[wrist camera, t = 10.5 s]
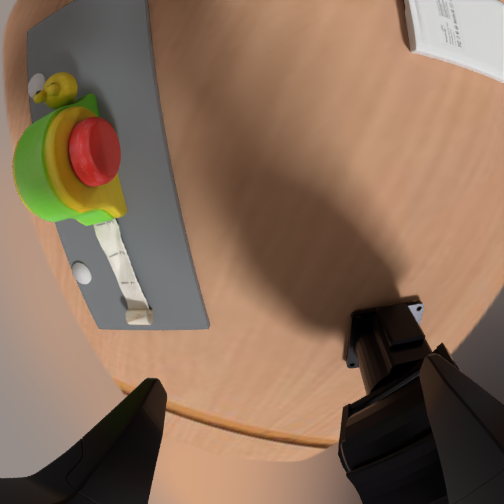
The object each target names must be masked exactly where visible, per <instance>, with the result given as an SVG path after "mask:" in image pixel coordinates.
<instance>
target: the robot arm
mask: <svg viewBox="0 0 504 504" xmlns="http://www.w3.org/2000/svg"><path fill="white" fill-rule="evenodd" d="M417 307H418V308H417ZM423 310H424V305H423V303H422V302H421V301H416V302H410V303H404V304H398V305H392V306H385V307H379V308H372V309H365V310H357V311H354V312H353V313H352V314H351V319H350V331H349V342H348V352H347V361H346V364H347V367H348V368H357V367H359V368H360V371H361V375H362V379H363V382H364V386H365V390H366V394H367V395H366V396H365V397H363V398H361V399H359V400H357V401H356V402H354V403H352V404H348V405H346V406H344V407H343V412H342V422H341V430H340V438H339V451H338V455H339V458H340V460H341V463H342V466H343V468H344V469H345V471H346V472H347V473H346V476H347V478H348V479H349V480H350V481H351V482H352V484H353V485H354V486H355V488H356V490H357V492H358V493H359V495H360V498H361V500H362V503H363V504H504V405H503V404H502V403H501V402H499V401H498V400H497V399H496V398H494V397H493V396H492V395H491V394H490V393H488V392H487V391H486V390H484V389H483V388H482V387H480V386H479V385H478V384H477V383H475V382H474V381H473V380H472V379H470V378H469V377H468V376H466V375H465V374H464V373H462V372H461V371H460V369H459V367H458V365H457V364H456V363H455V361H454V359H453V358H452V356H451V354H450V353H449V351H448V350H447V348H446V347H445V345H444V344H443V343H441V344H440V345H439V346H437V349H435V350H434V351H433V352H432V350H431V348H430V346H429V345H428V343H427V341H426V339H425V335H424V333H423V331H422V329H421V327H420V322H421V318H422V314H423ZM357 316H359V317H358V318H355V317H357ZM166 403H167V393H166V391H165V389H164V387H163V386H162V384H161V382H160V380H159V379H157V378H146V379H145V380H144V381H143V382H142V383H141V384H140V385H139V386H138V387H137V388H135V389H134V390H133V391H132V392H131V393H130V394H129V395H128V396H127V397H126V398H125V399H124V400H123V401H122V402H120V403H119V404H118V405H117V406H116V407H115V408H114V409H113V410H112V411H111V412H110V413H109V414H108V415H106V416H105V417H104V418H103V419H102V420H101V421H100V422H99V423H98V424H97V425H96V426H94V427H93V428H92V429H91V430H90V431H89V432H88V433H87V434H86V435H85V436H84V437H83V438H82V439H80V440H79V441H78V442H77V443H76V444H75V445H73V446H72V447H71V448H70V449H69V450H68V451H66V452H65V453H64V454H62V455H61V456H60V457H58V458H57V459H56V460H54V461H53V462H52V463H50V464H49V465H47V466H46V467H44V468H43V469H42V470H40V471H39V472H37V473H35V474H33V475H31V476H28V477H22V478H0V504H148V499H149V495H150V489H151V485H152V480H153V476H154V470H155V466H156V462H157V457H158V453H159V449H160V444H161V440H162V435H163V428H164V419H165V411H166Z"/></svg>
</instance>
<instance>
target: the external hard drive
mask: <svg viewBox="0 0 504 504" xmlns="http://www.w3.org/2000/svg"><path fill="white" fill-rule="evenodd" d="M404 2H405V7H406V9H405V18H406V24H407V30H408V37H409V45H410V52H411V53H415V54H419V55H424V56H427V57H431V58H435V59H438V60H442V61H445V62H448V63H452V64H455V65H458V66H461V67H464V68H467V69H469V70H472V71H475V72H478V73H480V74H483V75H485V76H488V77H490V78H493V79H495V80H497V81H500V82H502V83H504V4H503V3H502V2H500V1H498V0H404Z"/></svg>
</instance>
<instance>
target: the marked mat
mask: <svg viewBox="0 0 504 504" xmlns="http://www.w3.org/2000/svg"><path fill="white" fill-rule="evenodd" d="M27 72H28V94H29V100H30V110H31V118H32V124H33V123H34V122H36V121H37V120H39V119H41V118H42V117H44V116H46V115H48V114H50V113H51V112H53V111H55V110H56V109H51V108H49V107H48V106H47V105H46V104H45V103H44V101H43V102H42V103H39V104H38V103H35V102H34V100H33V96H34V94H35V93H36V92H37V91H39V90H43V87H44V84H45V82H46V81H47V80H48V79H49V78H50V77H51V76H52V75H54V74H56V73H59V72H67V73H69V74H71V75H73V76H74V78H75V79H76V81H77V85H78V90H77V95H76V97H75V100H77V99H79V98H81V97H83V96H85V95H88V94H90V93H92V94H94V95H95V96H96V99H97V106H98V112H99V117H100V118H103V119H105V120H107V121H108V122H109V123H110V124H111V125H112V127H113V128H114V130H115V132H116V134H117V136H118V139H119V143H120V149H121V161H120V166H119V170H118V175H119V180H120V184H121V188H122V192H123V195H124V199H125V203H126V207H127V213H126V214H125V215H124V216H123V217H120V218H116V221H117V223H118V224H119V228H120V233H121V238H122V241H123V243H124V245H125V249H126V250H127V254H128V256H129V259H130V262H131V265H132V268H133V270H134V273H135V276H136V278H137V281H138V282H139V284H140V287H141V289H142V292H143V294H144V296H145V298H146V300H147V302H148V307H149V309H152V310H153V322H152V324H151V325H130V324H128V323H127V322H126V318H125V311H126V310H128V305H127V302H126V299H125V297H124V295H123V293H122V291H121V289H120V287H119V284H118V281H117V278H116V276H115V273H114V272H113V270H112V268H111V265H110V263H109V260H108V259H107V256H106V254H105V252H104V251H103V249H102V247H101V245H100V243H99V241H98V239H97V237H96V233H95V230H94V225H89V226H85V225H83V224H81V223H80V222H78V221H77V220H76V219H71V218H70V219H65V220H62V221H57V222H55V224H56V227H57V230H58V233H59V236H60V239H61V242H62V245H63V248H64V250H65V253H66V256H67V259H68V261H69V264H70V266H71V269H72V273H73V276H74V277H75V279H76V281H77V283H78V286H79V288H80V290H81V293H82V295H83V297H84V299H85V301H86V304H87V306H88V308H89V310H90V312H91V314H92V316H93V318H94V320H95V322H96V324H97V326H98V328H99V329H112V330H197V329H209V326H210V322H209V319H208V315H207V312H206V308H205V305H204V301H203V297H202V294H201V290H200V286H199V283H198V279H197V275H196V271H195V267H194V263H193V259H192V255H191V251H190V247H189V243H188V239H187V235H186V231H185V226H184V222H183V218H182V213H181V209H180V204H179V200H178V195H177V191H176V186H175V181H174V176H173V171H172V166H171V161H170V156H169V151H168V145H167V140H166V134H165V129H164V123H163V117H162V111H161V105H160V99H159V92H158V85H157V78H156V71H155V64H154V56H153V48H152V39H151V30H150V20H149V9H148V0H74V1H73V2H71V3H69V4H67V5H66V6H64V7H63V8H61V9H59V10H58V11H56V12H55V13H53V14H52V15H50V16H48V17H47V18H46V19H44V20H43V21H41V22H40V23H38V24H37V25H36V26H34V27H33V28H31V29H30V30H29V31H27Z"/></svg>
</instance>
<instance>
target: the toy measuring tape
mask: <svg viewBox="0 0 504 504" xmlns="http://www.w3.org/2000/svg"><path fill="white" fill-rule="evenodd" d="M77 90H78V85H77V81H76V79H75V78H74V76H73V75H71V74H69V73H67V72H59V73H56V74H54V75H52V76H51V77H50V78H49V79H48V80H47V81H46V82H45V84H44V87H43V90H39V91H37V92H36V93H35V94H34V96H33V100H34V102H35V103H38V104H39V103H42V102H43V101H44V103H45V104H46V105H47V106H48V107H49V108H51V109H56V110H55V111H53V112H51V113H50V114H48V115H46V116H44V117H42V118H41V119H39V120H37V121H36V122H34V123H33V124H31V125H30V126H29V127H28V128H27V129H26V130H25V132H24V133H23V135H22V137H21V138H20V140H19V141H18V143H17V146H16V149H15V152H14V157H13V175H14V181H15V186H16V189H17V192H18V194H19V196H20V198H21V200H22V202H23V203H24V205H25V206H26V207H27V209H29V210H30V211H31V212H32V213H33V214H35V215H37V216H38V217H40V218H42V219H44V220H46V221H50V222H57V221H62V220H65V219H70V218H71V219H76V220H77V221H78V222H80V223H81V224H83V225H85V226H89V225H94V230H95V233H96V237H97V239H98V241H99V243H100V245H101V247H102V249H103V251H104V252H105V254H106V256H107V259H108V260H109V263H110V265H111V268H112V270H113V272H114V273H115V276H116V278H117V281H118V284H119V287H120V289H121V291H122V293H123V295H124V297H125V299H126V302H127V305H128V310H126V311H125V318H126V322H127V323H128V324H130V325H151V324H152V322H153V310H152V309H149V307H148V302H147V300H146V298H145V296H144V294H143V292H142V289H141V287H140V284H139V282H138V281H137V278H136V276H135V273H134V270H133V268H132V265H131V262H130V259H129V256H128V254H127V250H126V249H125V245H124V243H123V241H122V238H121V233H120V228H119V224H118V223H117V221H116V218H120V217H123V216H124V215H125V214H126V213H127V207H126V203H125V199H124V195H123V192H122V188H121V184H120V180H119V175H118V170H119V166H120V161H121V149H120V143H119V139H118V136H117V134H116V132H115V130H114V128H113V127H112V125H111V124H110V123H109V122H108V121H107V120H105V119H103V118H100V117H99V112H98V106H97V99H96V96H95V95H94V94H92V93H90V94H88V95H85V96H83V97H81V98H79V99H77V100H75V97H76V95H77Z"/></svg>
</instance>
